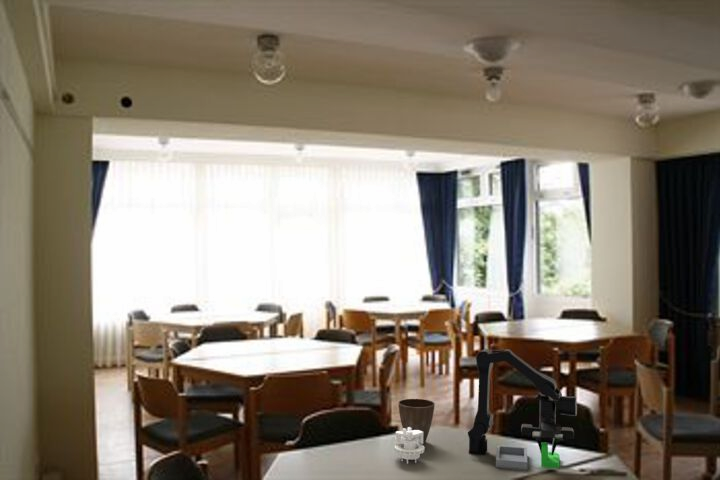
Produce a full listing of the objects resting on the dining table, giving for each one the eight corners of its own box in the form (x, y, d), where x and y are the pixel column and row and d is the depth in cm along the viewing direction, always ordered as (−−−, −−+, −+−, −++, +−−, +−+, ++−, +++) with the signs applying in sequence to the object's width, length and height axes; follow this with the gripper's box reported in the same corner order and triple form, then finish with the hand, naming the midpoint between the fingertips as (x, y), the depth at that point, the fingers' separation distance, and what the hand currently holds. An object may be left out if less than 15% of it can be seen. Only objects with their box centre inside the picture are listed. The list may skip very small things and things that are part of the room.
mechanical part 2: (558, 468, 229) (558, 446, 229) (541, 466, 231) (541, 444, 231) (559, 458, 241) (559, 437, 241) (543, 456, 243) (543, 435, 243)
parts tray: (495, 467, 230) (495, 459, 230) (497, 453, 246) (497, 445, 246) (527, 470, 227) (527, 462, 227) (526, 455, 244) (526, 447, 244)
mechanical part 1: (400, 467, 229) (400, 434, 229) (390, 456, 241) (390, 425, 241) (429, 464, 232) (429, 432, 232) (417, 454, 244) (418, 423, 244)
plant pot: (399, 435, 268) (399, 397, 268) (434, 437, 266) (435, 399, 266) (396, 446, 253) (396, 406, 253) (434, 448, 251) (434, 408, 251)
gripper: (521, 416, 231) (521, 459, 231) (575, 420, 227) (575, 464, 226) (521, 408, 242) (521, 449, 242) (573, 412, 237) (572, 454, 237)
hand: (546, 454), depth 236 cm, fingers open, 3 cm apart
